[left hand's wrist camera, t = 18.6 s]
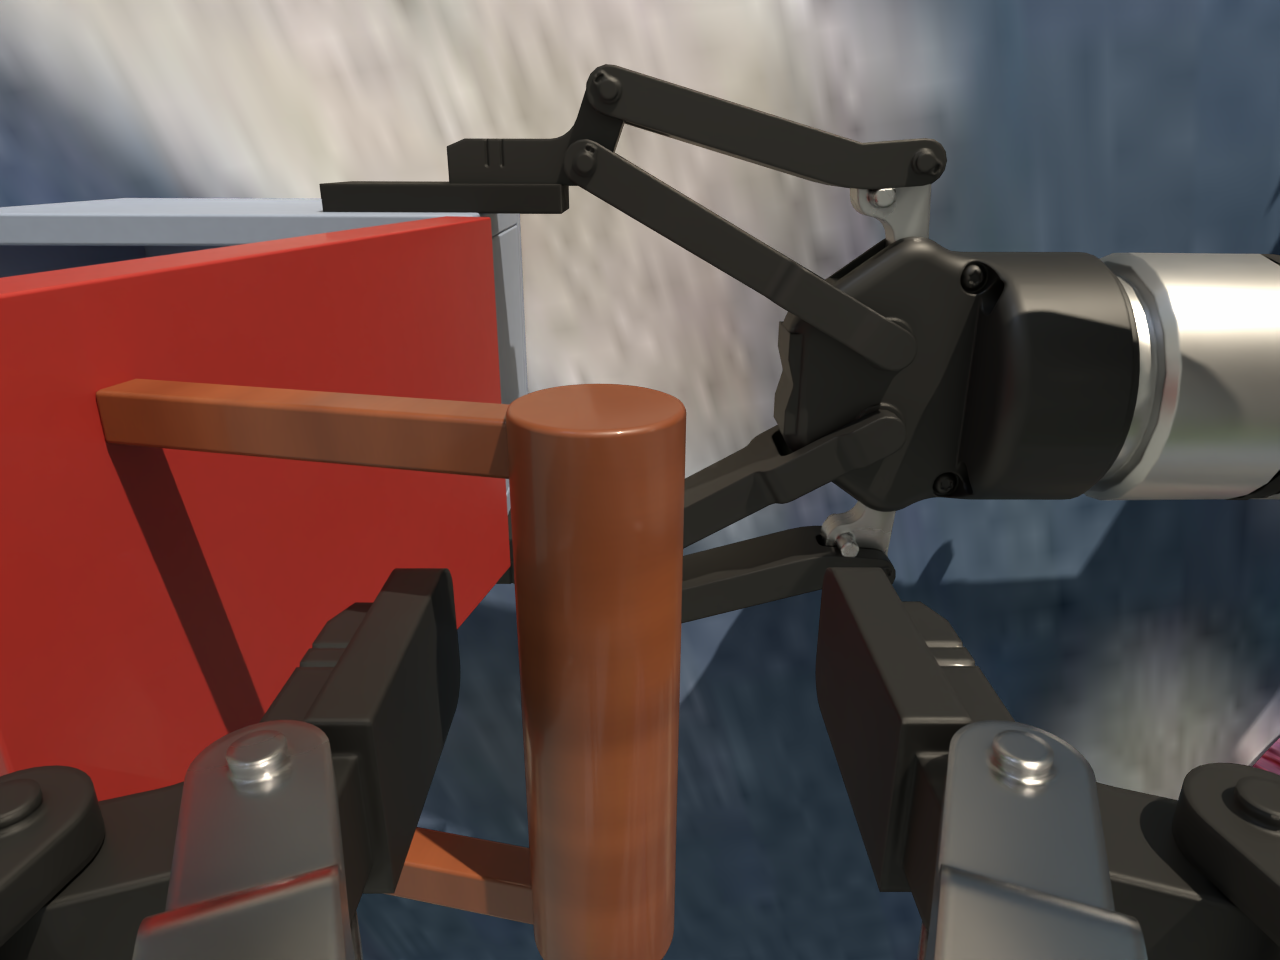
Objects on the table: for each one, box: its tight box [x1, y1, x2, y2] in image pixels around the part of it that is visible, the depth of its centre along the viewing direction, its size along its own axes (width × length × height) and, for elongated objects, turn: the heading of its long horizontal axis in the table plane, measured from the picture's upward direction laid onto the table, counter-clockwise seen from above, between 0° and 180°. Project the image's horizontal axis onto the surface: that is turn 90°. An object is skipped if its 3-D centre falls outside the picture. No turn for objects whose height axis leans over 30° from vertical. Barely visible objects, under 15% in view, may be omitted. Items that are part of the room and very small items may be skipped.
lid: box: [0, 216, 686, 960], centre depth 16 cm, size 15×10×8 cm
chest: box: [0, 198, 528, 514], centre depth 28 cm, size 14×10×9 cm
